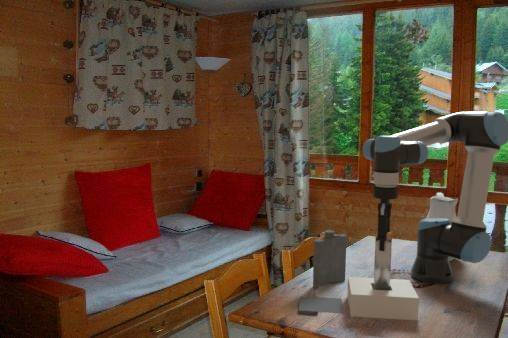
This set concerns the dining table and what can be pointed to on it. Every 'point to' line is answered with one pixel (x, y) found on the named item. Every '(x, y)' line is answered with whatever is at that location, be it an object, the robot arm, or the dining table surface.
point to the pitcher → (442, 208)
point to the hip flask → (329, 259)
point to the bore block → (382, 299)
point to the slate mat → (320, 305)
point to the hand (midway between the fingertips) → (382, 257)
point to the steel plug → (382, 266)
